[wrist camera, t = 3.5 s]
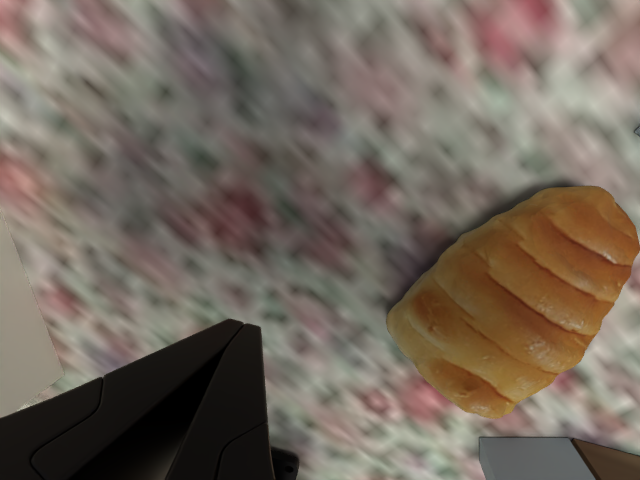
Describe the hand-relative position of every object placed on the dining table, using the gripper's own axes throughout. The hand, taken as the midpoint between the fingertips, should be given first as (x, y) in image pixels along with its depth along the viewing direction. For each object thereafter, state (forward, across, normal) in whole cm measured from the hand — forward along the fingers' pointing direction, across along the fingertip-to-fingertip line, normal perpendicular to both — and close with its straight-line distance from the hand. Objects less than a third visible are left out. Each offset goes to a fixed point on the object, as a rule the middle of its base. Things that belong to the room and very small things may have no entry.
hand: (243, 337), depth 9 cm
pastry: (+7, -9, 0) cm, 11 cm away
